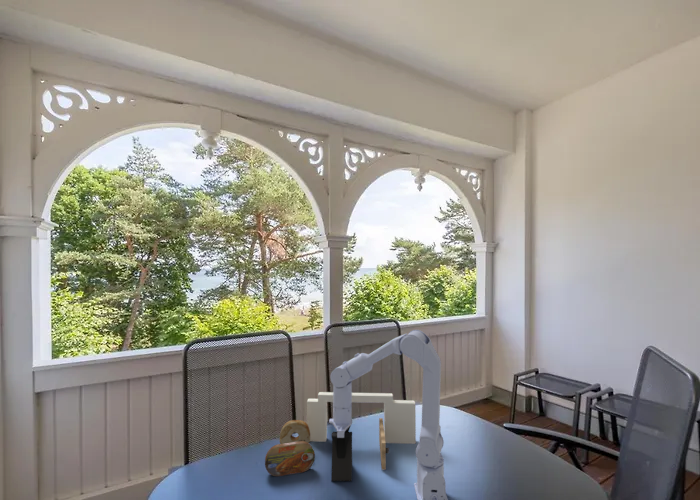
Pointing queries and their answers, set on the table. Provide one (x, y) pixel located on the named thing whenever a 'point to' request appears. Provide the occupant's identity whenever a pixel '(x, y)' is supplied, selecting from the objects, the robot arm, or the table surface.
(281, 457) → the tin
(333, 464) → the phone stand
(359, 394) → the door frame
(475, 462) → the table surface
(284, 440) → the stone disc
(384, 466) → the door
